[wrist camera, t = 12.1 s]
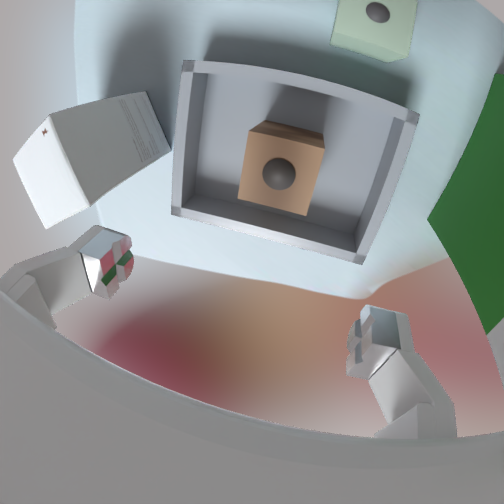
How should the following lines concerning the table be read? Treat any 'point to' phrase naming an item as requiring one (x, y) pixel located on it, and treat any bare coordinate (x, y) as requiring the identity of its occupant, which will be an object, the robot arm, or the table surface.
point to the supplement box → (88, 153)
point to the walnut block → (281, 166)
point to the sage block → (375, 27)
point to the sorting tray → (298, 115)
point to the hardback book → (479, 219)
